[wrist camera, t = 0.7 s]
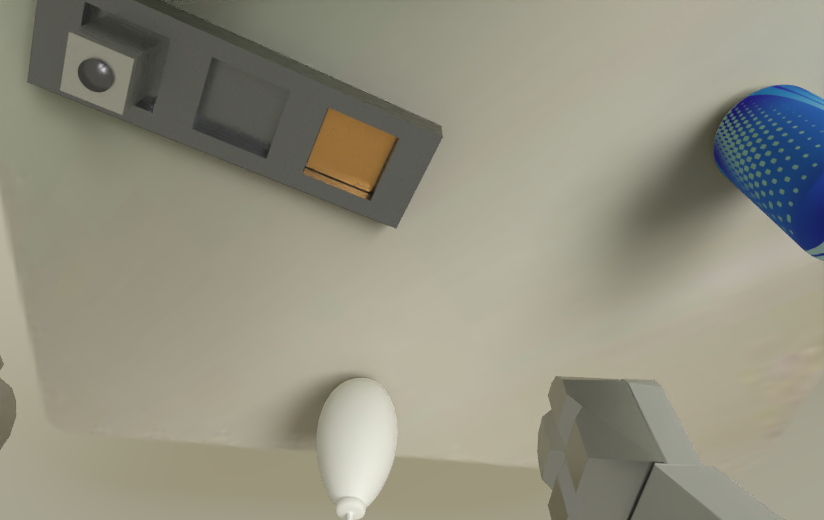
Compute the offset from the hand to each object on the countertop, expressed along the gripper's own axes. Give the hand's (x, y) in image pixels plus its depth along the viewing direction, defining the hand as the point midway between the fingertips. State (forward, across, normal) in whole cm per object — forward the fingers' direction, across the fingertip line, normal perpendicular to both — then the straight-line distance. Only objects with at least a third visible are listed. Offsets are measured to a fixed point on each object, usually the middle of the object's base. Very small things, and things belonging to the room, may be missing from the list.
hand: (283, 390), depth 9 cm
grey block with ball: (+40, +18, +6) cm, 45 cm away
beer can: (+41, -32, +8) cm, 53 cm away
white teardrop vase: (+42, 0, +39) cm, 57 cm away
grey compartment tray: (+41, +10, +9) cm, 43 cm away
